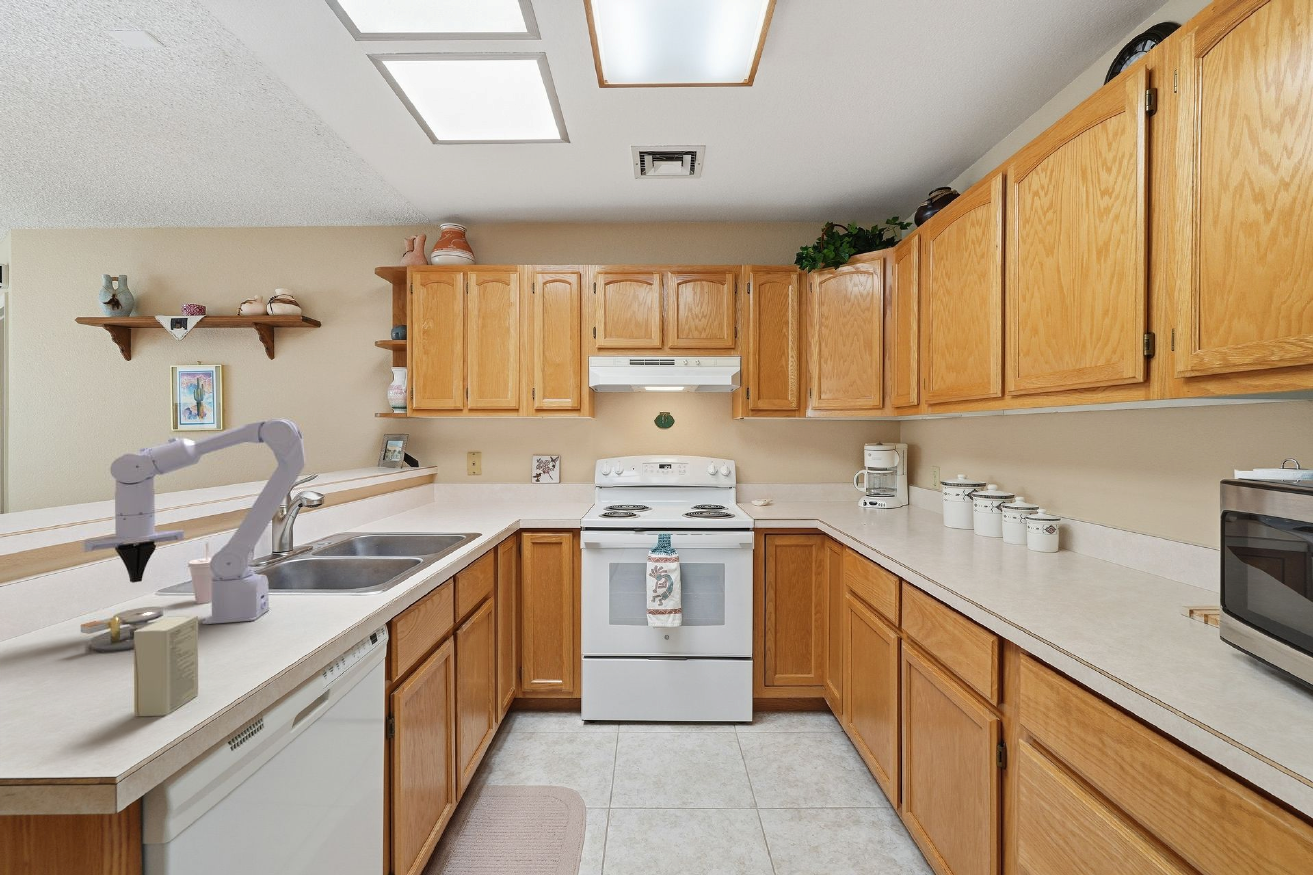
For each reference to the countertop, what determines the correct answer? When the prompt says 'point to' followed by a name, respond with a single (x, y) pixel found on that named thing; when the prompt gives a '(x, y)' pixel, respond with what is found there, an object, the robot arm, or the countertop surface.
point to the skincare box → (165, 665)
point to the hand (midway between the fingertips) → (135, 581)
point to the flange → (125, 619)
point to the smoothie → (202, 578)
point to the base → (116, 637)
